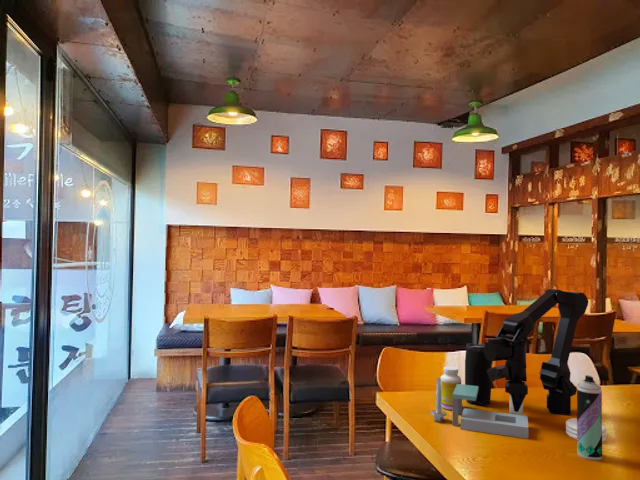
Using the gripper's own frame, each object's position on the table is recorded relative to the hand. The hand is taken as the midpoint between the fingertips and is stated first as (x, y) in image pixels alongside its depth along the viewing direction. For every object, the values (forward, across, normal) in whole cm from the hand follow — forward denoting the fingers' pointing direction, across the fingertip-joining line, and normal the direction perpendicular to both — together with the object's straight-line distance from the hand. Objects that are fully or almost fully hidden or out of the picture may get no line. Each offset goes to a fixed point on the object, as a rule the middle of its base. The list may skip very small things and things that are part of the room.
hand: (516, 409), depth 148 cm
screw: (+3, +12, -22) cm, 25 cm away
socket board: (+3, +12, -6) cm, 14 cm away
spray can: (+3, +23, +17) cm, 29 cm away
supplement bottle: (+3, -2, -20) cm, 20 cm away
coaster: (+3, +8, +18) cm, 20 cm away
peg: (+2, 0, 0) cm, 2 cm away
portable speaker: (+3, -11, -12) cm, 17 cm away
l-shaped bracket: (+2, +9, -14) cm, 17 cm away
